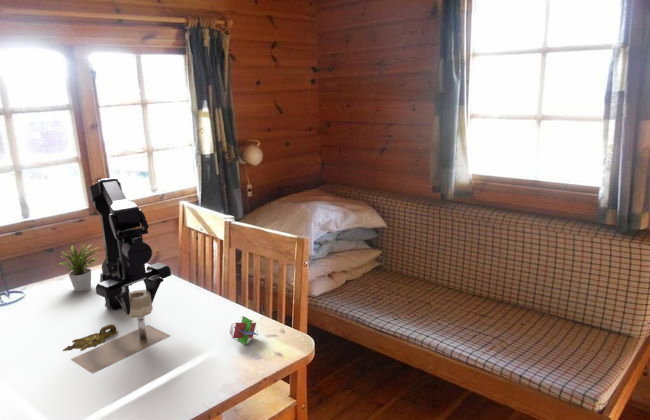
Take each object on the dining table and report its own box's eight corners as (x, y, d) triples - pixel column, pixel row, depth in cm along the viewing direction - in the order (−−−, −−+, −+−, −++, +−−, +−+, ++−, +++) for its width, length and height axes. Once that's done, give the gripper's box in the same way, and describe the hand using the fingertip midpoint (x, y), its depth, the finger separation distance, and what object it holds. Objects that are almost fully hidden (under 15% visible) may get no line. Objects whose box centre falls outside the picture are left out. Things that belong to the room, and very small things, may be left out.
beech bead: (143, 305, 137) (141, 288, 136) (156, 310, 133) (154, 293, 132) (122, 313, 132) (120, 296, 131) (135, 319, 128) (133, 301, 127)
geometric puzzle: (253, 322, 138) (237, 307, 133) (268, 330, 134) (252, 315, 129) (237, 344, 136) (220, 330, 131) (252, 353, 131) (235, 338, 126)
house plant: (92, 298, 164) (85, 251, 160) (51, 299, 164) (42, 252, 160) (111, 281, 178) (104, 238, 174) (73, 282, 178) (65, 239, 174)
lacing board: (148, 328, 142) (148, 324, 142) (171, 339, 135) (171, 335, 135) (71, 363, 125) (70, 359, 125) (93, 377, 119) (92, 373, 118)
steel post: (144, 335, 136) (141, 312, 134) (148, 337, 135) (144, 314, 133) (138, 337, 134) (135, 314, 133) (142, 339, 133) (138, 316, 132)
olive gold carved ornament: (68, 367, 126) (126, 344, 136) (65, 351, 125) (124, 329, 134) (56, 350, 132) (112, 329, 142) (53, 335, 131) (110, 315, 141)
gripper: (145, 239, 140) (152, 290, 144) (80, 258, 126) (90, 314, 130) (169, 246, 134) (175, 299, 138) (103, 267, 120) (112, 326, 123)
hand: (139, 309), depth 132 cm, fingers closed on beech bead, 6 cm apart
